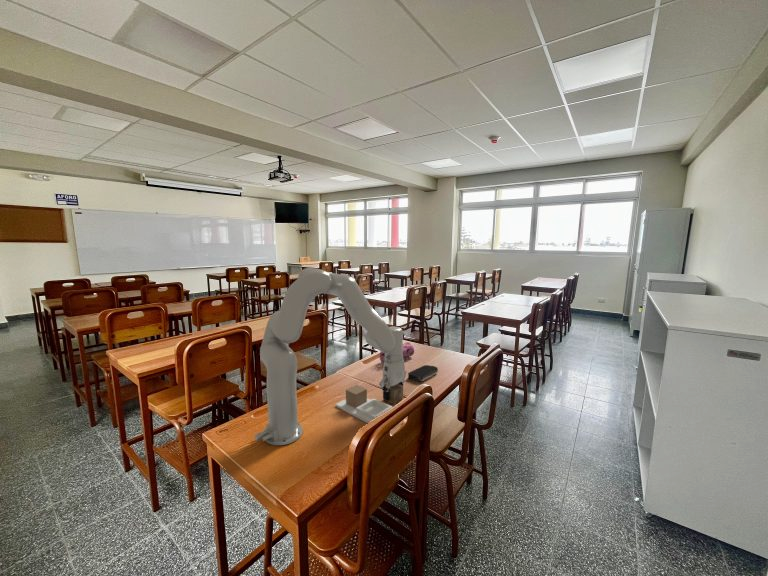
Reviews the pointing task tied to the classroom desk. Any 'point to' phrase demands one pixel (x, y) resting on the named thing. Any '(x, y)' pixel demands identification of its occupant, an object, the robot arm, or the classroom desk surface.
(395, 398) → the walnut block
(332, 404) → the classroom desk surface
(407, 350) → the pencil case
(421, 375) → the black sponge
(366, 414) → the assembly board
